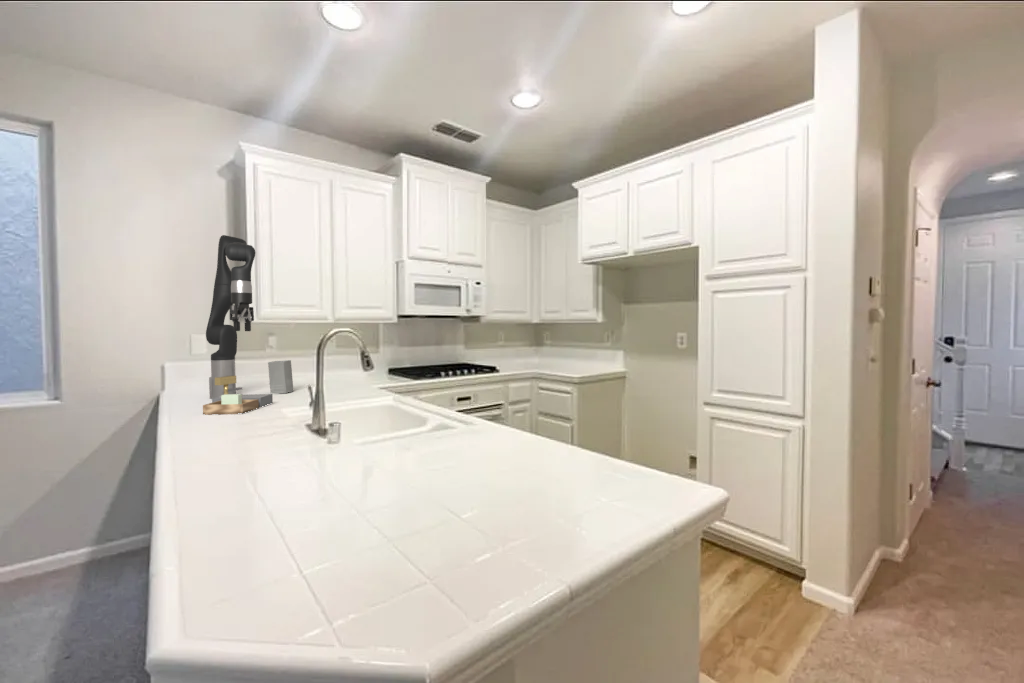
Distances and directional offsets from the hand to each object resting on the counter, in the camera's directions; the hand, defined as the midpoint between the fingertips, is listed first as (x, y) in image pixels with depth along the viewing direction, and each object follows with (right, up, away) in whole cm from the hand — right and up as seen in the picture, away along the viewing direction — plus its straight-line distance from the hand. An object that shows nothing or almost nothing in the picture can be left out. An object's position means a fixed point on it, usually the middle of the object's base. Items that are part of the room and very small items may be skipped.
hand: (242, 331), depth 183 cm
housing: (+5, -30, -7) cm, 32 cm away
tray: (+8, -31, -19) cm, 37 cm away
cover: (+8, -30, -19) cm, 36 cm away
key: (-1, -26, -6) cm, 27 cm away
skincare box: (0, -30, +31) cm, 43 cm away
